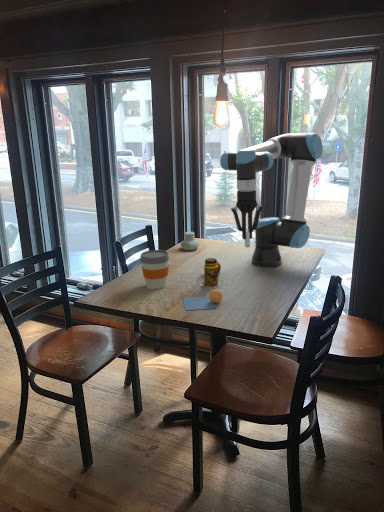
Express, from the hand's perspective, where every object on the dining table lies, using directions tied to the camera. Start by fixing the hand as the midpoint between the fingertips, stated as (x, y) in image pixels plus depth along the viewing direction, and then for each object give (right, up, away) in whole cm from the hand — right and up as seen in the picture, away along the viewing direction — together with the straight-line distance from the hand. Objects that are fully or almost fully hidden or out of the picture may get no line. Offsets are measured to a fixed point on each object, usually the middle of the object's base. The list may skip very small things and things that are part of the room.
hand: (247, 246), depth 166 cm
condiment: (-15, -17, +14) cm, 27 cm away
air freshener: (-24, 0, +70) cm, 74 cm away
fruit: (-13, -13, +27) cm, 33 cm away
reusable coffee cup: (-39, -18, +15) cm, 45 cm away
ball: (-14, -20, -6) cm, 25 cm away
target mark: (-20, -23, -6) cm, 31 cm away
